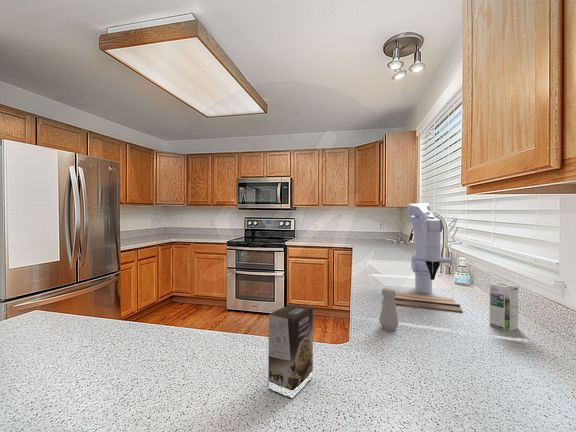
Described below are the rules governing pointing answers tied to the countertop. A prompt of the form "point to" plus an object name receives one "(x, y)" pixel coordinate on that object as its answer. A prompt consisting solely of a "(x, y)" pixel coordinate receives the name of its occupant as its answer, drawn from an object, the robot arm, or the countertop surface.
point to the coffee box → (290, 345)
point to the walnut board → (428, 305)
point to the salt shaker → (388, 310)
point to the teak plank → (425, 298)
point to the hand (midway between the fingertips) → (432, 279)
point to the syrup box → (503, 306)
